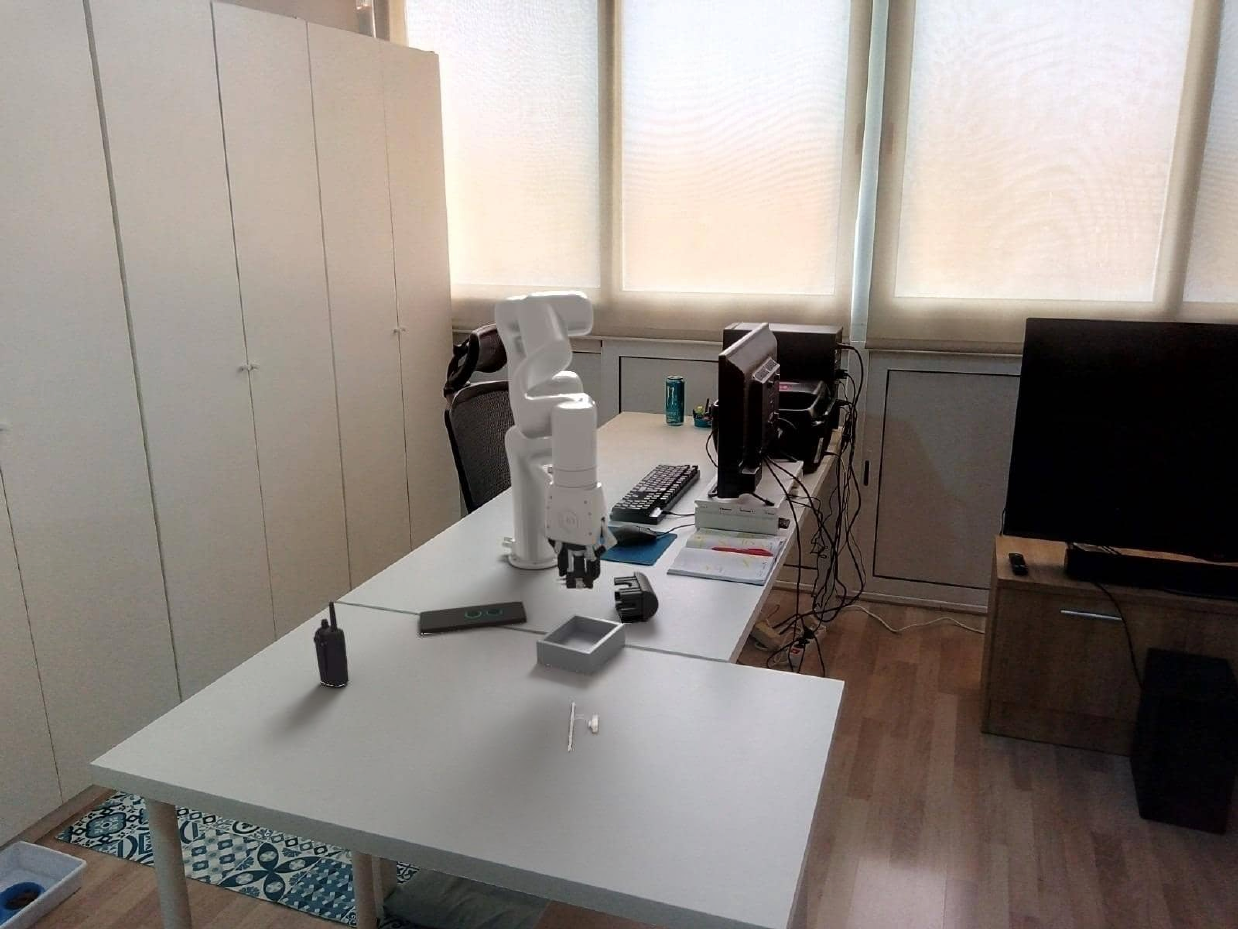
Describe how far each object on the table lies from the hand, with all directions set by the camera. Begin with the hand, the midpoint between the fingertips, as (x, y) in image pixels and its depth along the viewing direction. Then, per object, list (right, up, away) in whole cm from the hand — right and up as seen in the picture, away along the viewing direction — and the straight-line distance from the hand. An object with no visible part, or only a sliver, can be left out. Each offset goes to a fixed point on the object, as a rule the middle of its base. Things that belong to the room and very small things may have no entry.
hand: (579, 575), depth 154 cm
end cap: (+10, -10, +20) cm, 24 cm away
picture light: (+1, -21, -18) cm, 28 cm away
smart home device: (-21, -11, +18) cm, 30 cm away
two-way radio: (-41, -18, -5) cm, 45 cm away
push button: (-1, -2, +1) cm, 2 cm away
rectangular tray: (0, -14, +4) cm, 15 cm away
